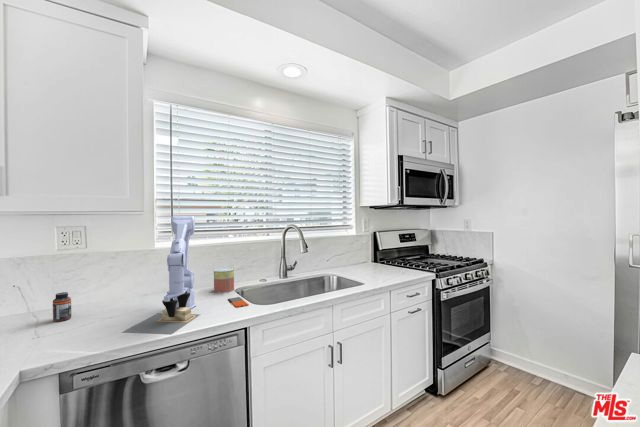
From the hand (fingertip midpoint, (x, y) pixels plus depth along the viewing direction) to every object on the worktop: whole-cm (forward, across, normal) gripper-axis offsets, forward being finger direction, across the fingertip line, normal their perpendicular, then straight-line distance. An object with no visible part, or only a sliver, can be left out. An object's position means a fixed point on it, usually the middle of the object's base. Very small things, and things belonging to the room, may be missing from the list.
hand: (177, 313), depth 125 cm
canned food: (+3, -47, 0) cm, 47 cm away
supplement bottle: (+3, +4, -50) cm, 50 cm away
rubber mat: (+3, +5, -2) cm, 6 cm away
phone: (+3, -25, +16) cm, 30 cm away
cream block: (+2, 0, 0) cm, 2 cm away
